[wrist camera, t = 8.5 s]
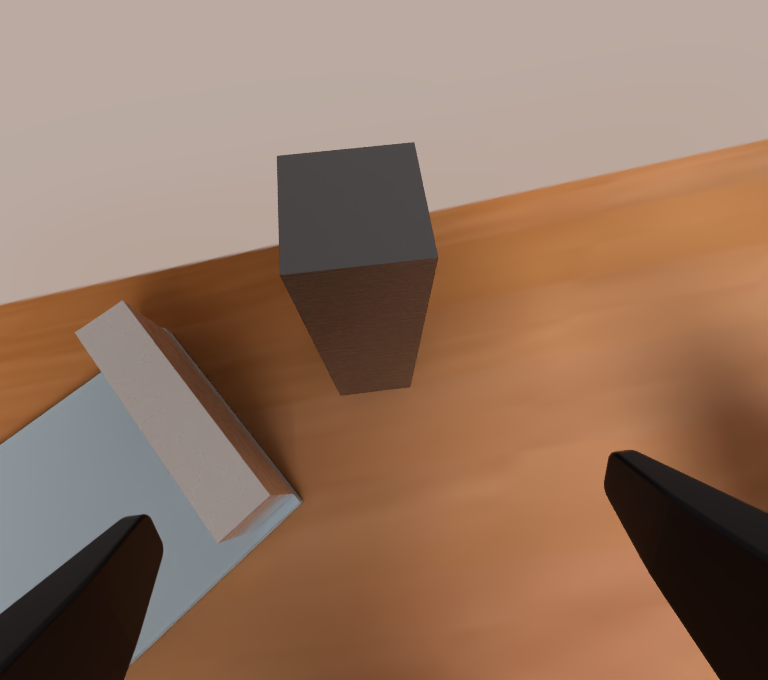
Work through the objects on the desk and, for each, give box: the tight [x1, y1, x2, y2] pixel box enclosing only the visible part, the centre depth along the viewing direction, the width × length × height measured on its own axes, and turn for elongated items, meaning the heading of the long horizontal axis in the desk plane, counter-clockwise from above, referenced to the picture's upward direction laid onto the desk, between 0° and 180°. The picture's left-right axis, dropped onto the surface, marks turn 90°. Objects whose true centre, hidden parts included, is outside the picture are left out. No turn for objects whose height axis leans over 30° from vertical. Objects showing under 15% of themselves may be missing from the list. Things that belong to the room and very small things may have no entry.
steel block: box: [277, 143, 438, 395], centre depth 16 cm, size 4×4×13 cm
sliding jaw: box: [75, 300, 293, 543], centre depth 18 cm, size 2×12×4 cm, turn 43°
